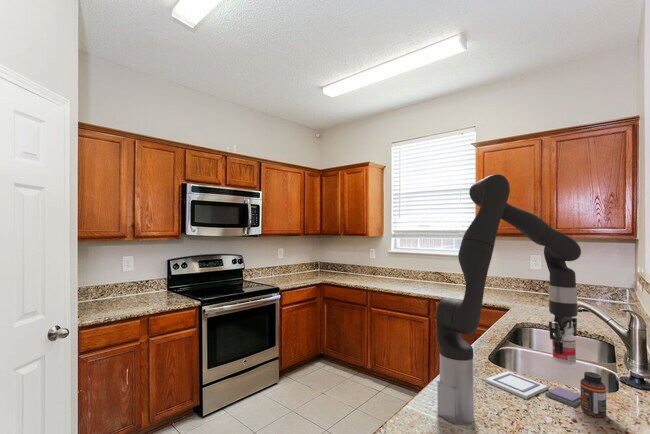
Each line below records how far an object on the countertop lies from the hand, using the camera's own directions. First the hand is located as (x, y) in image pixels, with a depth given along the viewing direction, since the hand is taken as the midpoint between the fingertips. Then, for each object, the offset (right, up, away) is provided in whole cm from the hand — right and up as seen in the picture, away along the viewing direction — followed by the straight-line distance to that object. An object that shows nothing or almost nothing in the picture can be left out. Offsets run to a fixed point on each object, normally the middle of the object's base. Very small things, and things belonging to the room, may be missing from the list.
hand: (563, 351), depth 106 cm
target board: (-11, -15, +8) cm, 20 cm away
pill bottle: (0, -3, 0) cm, 3 cm away
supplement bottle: (+2, -15, -9) cm, 18 cm away
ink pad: (0, -15, -1) cm, 15 cm away
